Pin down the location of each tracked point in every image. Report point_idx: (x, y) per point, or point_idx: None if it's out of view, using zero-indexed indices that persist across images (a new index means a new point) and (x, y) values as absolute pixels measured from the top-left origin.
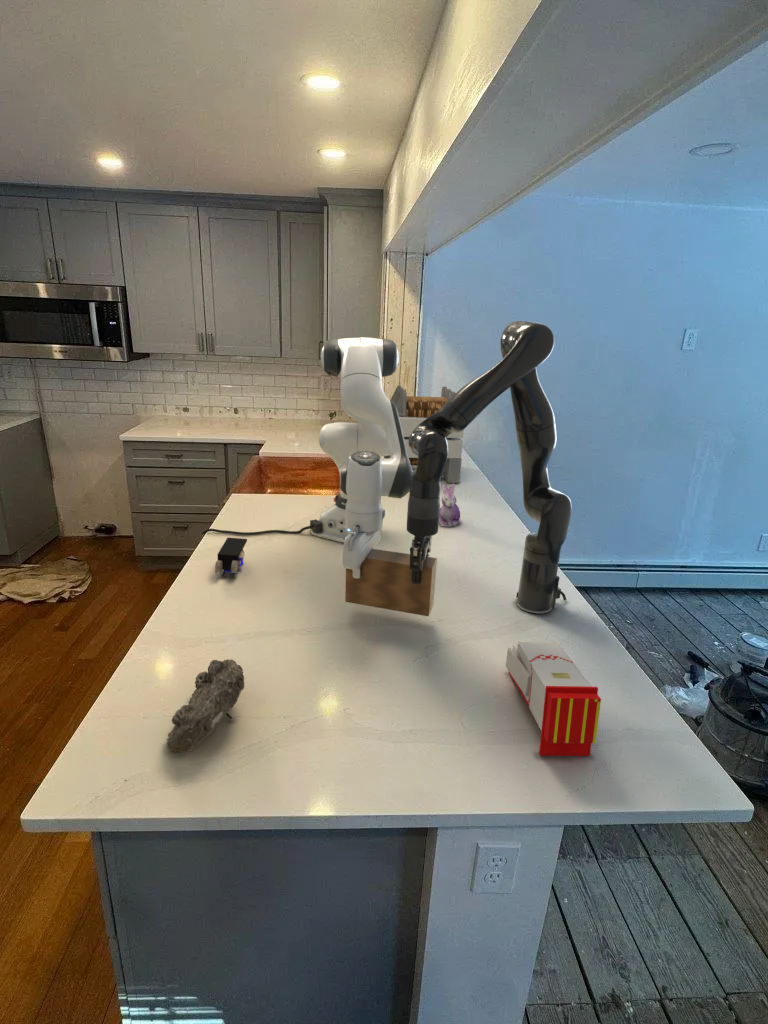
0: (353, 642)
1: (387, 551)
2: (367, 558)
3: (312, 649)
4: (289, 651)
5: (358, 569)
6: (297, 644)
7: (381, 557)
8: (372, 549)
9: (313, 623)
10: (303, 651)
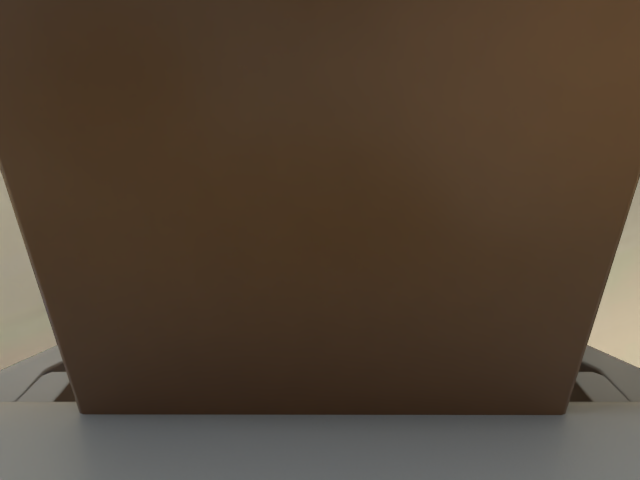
0: None
1: (12, 66)
2: (571, 378)
3: (617, 277)
4: (635, 338)
5: (597, 358)
6: None
7: (478, 112)
8: (121, 409)
9: None
10: (632, 299)
